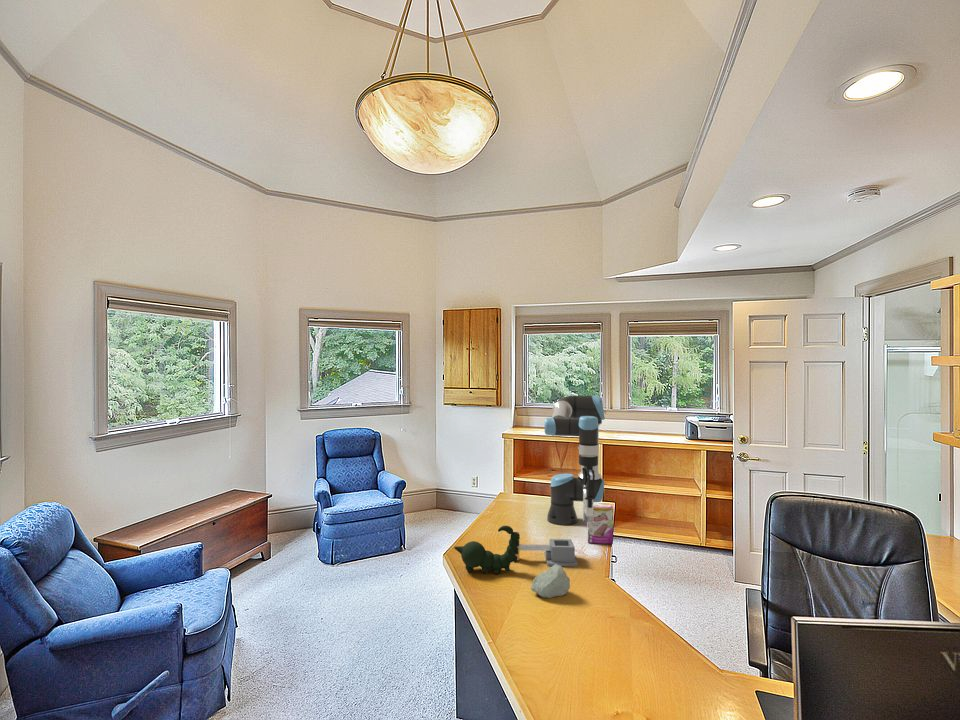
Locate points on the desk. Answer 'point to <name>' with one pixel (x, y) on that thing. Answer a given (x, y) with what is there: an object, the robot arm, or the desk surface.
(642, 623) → the desk surface
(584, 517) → the peg
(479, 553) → the toy figurine
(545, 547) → the pin
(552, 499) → the robot arm
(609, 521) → the candy bar box
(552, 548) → the dock
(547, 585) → the decorative stone
